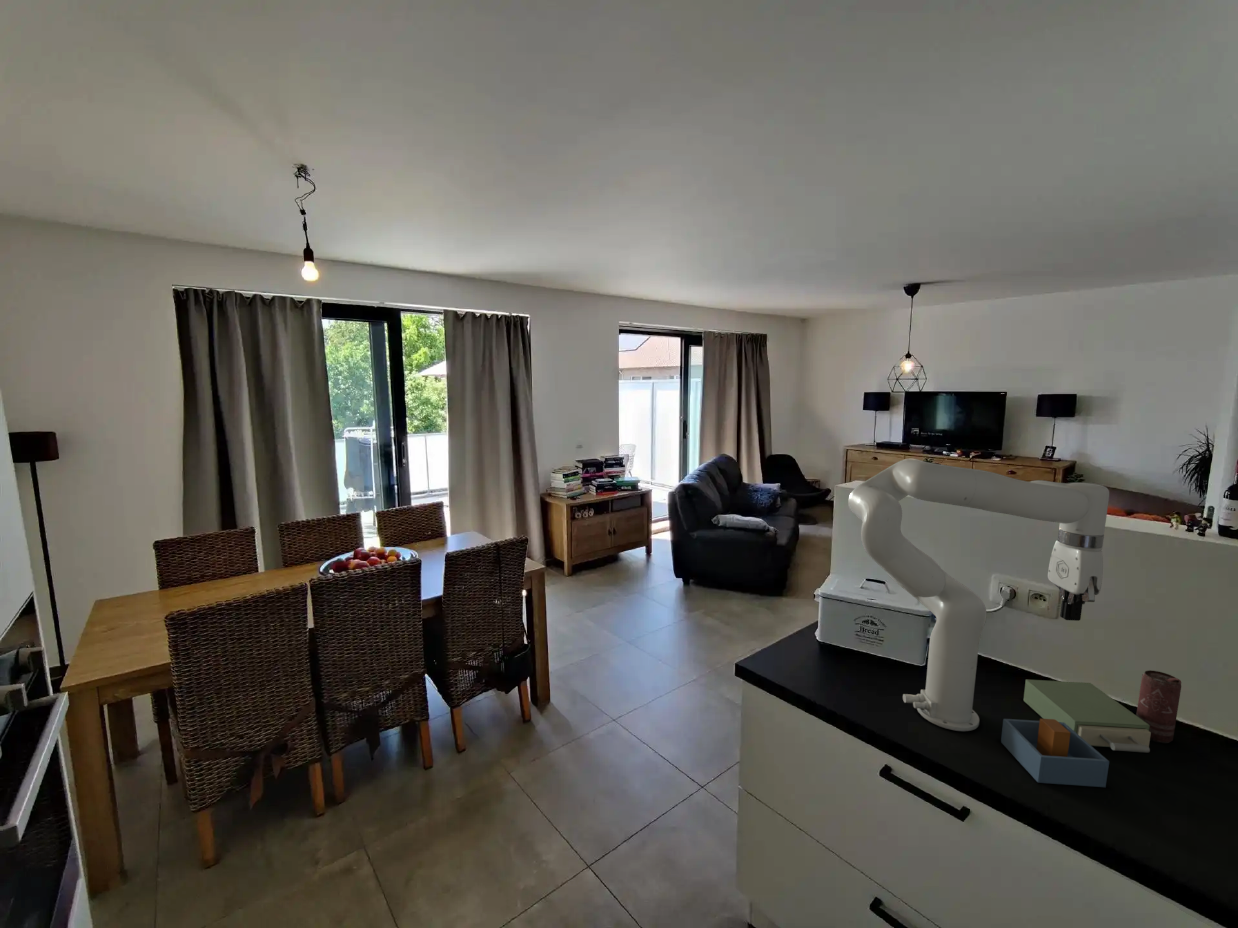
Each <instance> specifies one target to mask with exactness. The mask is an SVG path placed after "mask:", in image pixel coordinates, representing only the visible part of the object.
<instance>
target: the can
mask: <svg viewBox="0 0 1238 928" xmlns="http://www.w3.org/2000/svg"><path fill="white" fill-rule="evenodd" d="M1181 692H1182V681H1181V679H1179V678H1177V677H1175V675H1172V674H1169V673H1166V672H1162V671H1159V670H1150V669H1149V670H1145V671H1144V672H1143V673H1142V674H1141V680H1140V687H1139V694H1138V695H1139V696H1138V701H1137V708H1136V714H1135V715H1136V716H1137V717H1139V718H1140V719H1142V720H1143V721H1144V722H1146V723H1147V724H1149V725H1150V727H1149V732H1151V736H1150V741H1153V742H1154V743H1159V744H1170V743H1171V742H1173V740H1174V735H1175V729H1176V722H1177V717H1178V710H1179V706H1180V705H1179V704H1180V699H1181Z"/></svg>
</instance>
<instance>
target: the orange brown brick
mask: <svg viewBox="0 0 1238 928" xmlns="http://www.w3.org/2000/svg"><path fill="white" fill-rule="evenodd" d="M1039 721H1040V723H1039V731H1038V740H1037V748H1036V749H1037V750H1038V751H1039V752H1040V753H1041V754H1042V755H1045V756H1060V757H1067V756H1068V748H1069V741H1070V732H1069V731H1068V730H1067V729H1066V728H1065V727H1063V726H1062V725H1061V724H1060V723H1059V722H1058V721H1057V720H1055V719H1043V718H1039Z"/></svg>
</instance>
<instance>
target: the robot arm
mask: <svg viewBox="0 0 1238 928" xmlns="http://www.w3.org/2000/svg"><path fill="white" fill-rule="evenodd" d="M908 496H909V497H912V498H913V499H917V500H920V501H924V502H931V503H938V504H945V505H952V506H958V507H963V508H970V509H971V508H972V509H978V510H982V511H986V512H991V513H997V514H1003V515H1010V516H1015V517H1019V518H1024V519H1031V520H1036V521H1037V520H1038V521H1043V522H1050V523H1057V524H1058V525H1059V527H1058V535H1057V539H1056V541H1055V543H1054V545H1053V548H1052V550H1051V554H1050V559H1049V564H1048V569H1047V579H1048V581H1049V582H1050V583H1052V584H1053V585H1054V586H1055V587H1056V588H1057V589H1059V598H1060V600H1061V605H1060V611H1059V612H1060V613H1059V617H1060V618H1062V619H1063V620H1065V621H1076V622H1078V621H1081V619H1082V611H1083V605H1085V604H1086V603H1095V601H1096V598H1095V597H1096V596H1097V595H1100V592H1101V589H1102V584H1103V575H1104V573H1103V572H1104V557H1103V556H1104V555H1103V551H1102V550H1103V546H1104V538H1105V529H1106V522H1107V517H1108V516H1107V515H1108V510H1109V509H1108V508H1109V500H1110V490H1109V489H1108V487H1107V486H1105V485H1102V484H1097V483H1091V482H1070V483H1067V482H1066V483H1065V482H1056V481H1049V480H1041V479H1037V480H1036V479H1035V480H1031V481H1026V480H1022V479H1019V478H1018V479H1017V478H1013V477H1010V476H1008V475H1007V476H1006V475H1003V474H1000V473H997V472H993V471H987V470H982V469H975V468H970V467H969V468H968V467H967V468H966V467H962V466H961V467H959V466H953V465H947V464H940V463H933V462H928V461H924V460H921V459H918V458H911V457H910V458H909V457H908V458H905V459H901V460H899V461H897V462H895V463H894V464H892V465H890V466H888V467H887V468H884V469H883V470H881V471H880V472H878V473H877V474H875V475H873V476H872V477H870V478H868V479H867V480H865V481H863V482H862V483H859V484H858V485H856V487H855V488H854V489H853V490H852V491H851V492H850V493H849V496H848V500H847V502H848V503H847V505H848V508H849V511H850V512H851V513H852V515H853V516H855V517H856V518H858V519H859V520H860V521H861V522H862V523H861V529H860V539H861V544H862V547H863V549H864V551H865V553H866V554H867V555H868V556H869V557H870V559H872V561H874V562H875V563H876V564H877V565H879V567H880V568H882V569H883V570H884V571H885V572H886V574H887V575H888V576H889V577H890V578H891V579H892V580H893V581H894V582H895V583H896V584H897V585H898V586H899V587H901V588H902V589H904V591H906V592H907V593H908V594H910V595H911V596H912V597H913V598H915V600H916V601H918V602H919V603H921V604H922V605H923V606H924V607H925V608H926V609H927V610H929V611H930V612H931V614H933V615H934V616H935V618H936V619H935V623H934V626H933V628H932V630H931V633H930V637H929V645H928V655H927V658H928V659H927V667H926V668H927V669H926V680H925V689H920V693H917V694H908V693H903V694H902V700H903V703H904V704H912V707H913V708H914V709H916V710H917V713H919V714H920V716H921V717H922V718H924V719H925V720H927V721H928V722H929V723H931V724H933V725H935V726H938V727H940V728H943V729H946V730H951V731H956V732H970V731H971V732H972V731H975V730H976V729H977V728H978V727H979V726H980V716H979V715H978V713H977V712H976V711H975V710H974V709H973V708H974V707H973V706H974V695H975V686H976V677H977V676H976V675H977V668H978V667H977V666H978V658H979V657H978V656H979V647H980V641H981V638H982V637H981V636H982V633H983V630H984V627H985V624H986V621H987V615H988V613H987V608H986V605H985V603H984V601H983V599H982V598H981V597H980V596H979V595H978V594H977V593H976V592H974V591H973V590H972V589H970V588H969V587H967V586H965V585H964V584H963V583H961V582H960V581H958V580H957V579H955V578H954V577H953V576H951V575H950V574H948V573H947V572H946V571H945V570H944V569H943V568H941V566H940V564H939V563H938V562H936V560H934V559H933V558H932V557H931V556H929V555H928V554H927V553H925V552H924V551H922V550H921V549H920V548H917V546H915V545H914V544H913V543H912V542H911V541H910V540H909V539H908V538H907V537H906V536H905V535H904V534H903V533H902V530H901V526H902V518H903V507H902V506H901V503H900V501H902V500H903V499H905V498H906V497H908Z"/></svg>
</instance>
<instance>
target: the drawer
mask: <svg viewBox="0 0 1238 928" xmlns="http://www.w3.org/2000/svg"><path fill="white" fill-rule="evenodd" d="M1077 734H1078V735H1079V736H1080V737H1082V738H1083V739H1084V740H1085V741H1086V742H1087V743H1088V744H1090V745H1093V746H1092V747H1101V746H1108V747H1107V748H1110V749H1111V750H1112V751H1118V752H1131V753H1132V752H1133V753H1134V752H1135V753H1150V752H1151V748H1150V741H1151V740H1150V736H1151V732H1149V731H1148V730H1147V729H1137V728H1130V727H1113V726H1096V725H1078V729H1077Z"/></svg>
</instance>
